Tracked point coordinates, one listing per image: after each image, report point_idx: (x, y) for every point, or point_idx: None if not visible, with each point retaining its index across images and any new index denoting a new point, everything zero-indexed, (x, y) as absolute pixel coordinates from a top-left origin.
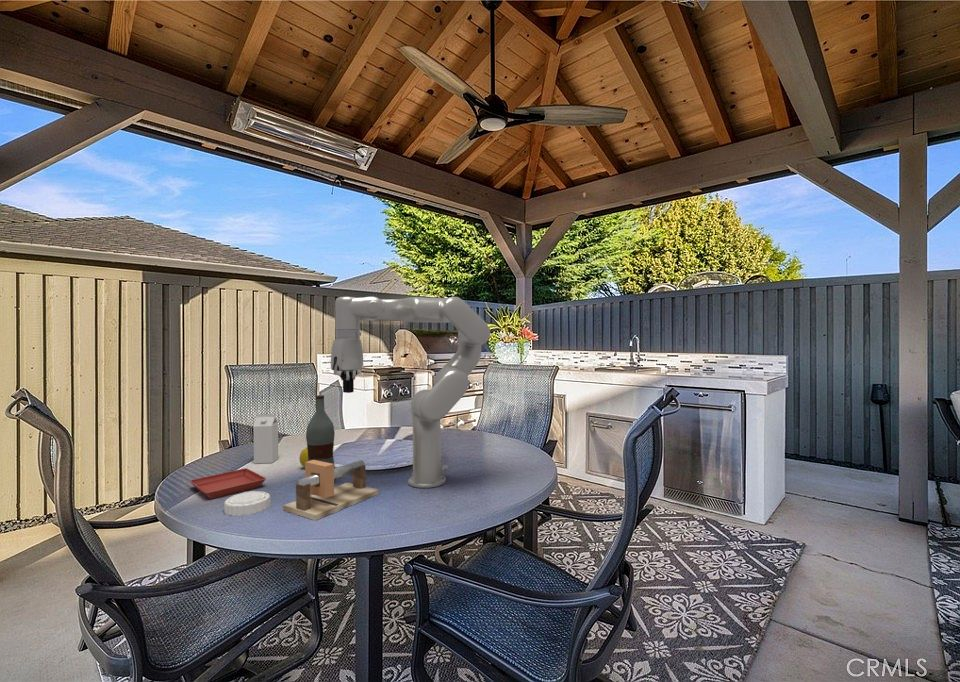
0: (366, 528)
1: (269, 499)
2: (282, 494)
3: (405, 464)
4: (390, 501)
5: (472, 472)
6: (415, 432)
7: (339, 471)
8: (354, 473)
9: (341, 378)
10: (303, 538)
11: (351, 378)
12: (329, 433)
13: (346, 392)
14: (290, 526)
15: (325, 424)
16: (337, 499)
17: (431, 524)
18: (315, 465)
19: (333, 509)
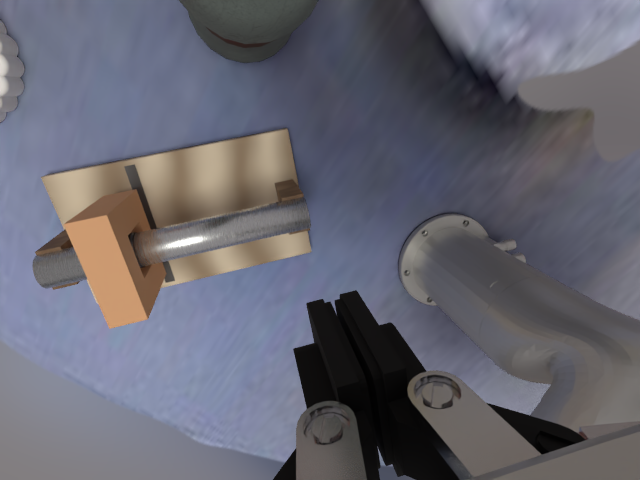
0: (176, 394)
1: (9, 95)
2: (86, 20)
3: (536, 69)
4: (298, 306)
5: (556, 275)
6: (495, 337)
7: (199, 253)
8: (280, 199)
9: (289, 458)
10: (45, 363)
11: (416, 468)
12: (267, 37)
13: (314, 342)
14: (36, 288)
15: (248, 14)
16: None
17: (279, 443)
18: (89, 280)
19: None
